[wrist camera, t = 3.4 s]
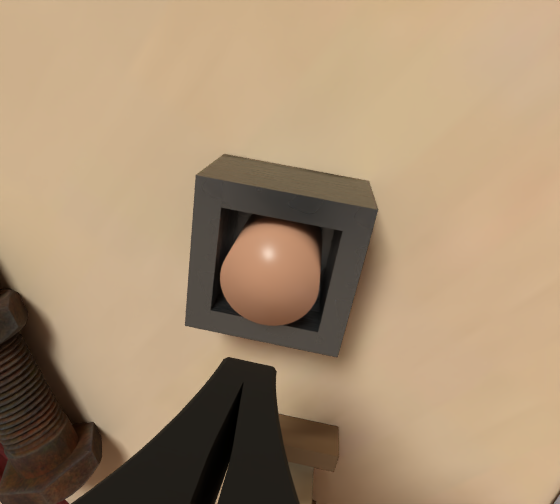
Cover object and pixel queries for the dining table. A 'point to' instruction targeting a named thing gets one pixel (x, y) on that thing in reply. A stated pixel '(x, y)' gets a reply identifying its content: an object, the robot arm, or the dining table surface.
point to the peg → (302, 481)
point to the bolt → (37, 424)
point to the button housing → (288, 206)
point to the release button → (273, 270)
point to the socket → (310, 443)
